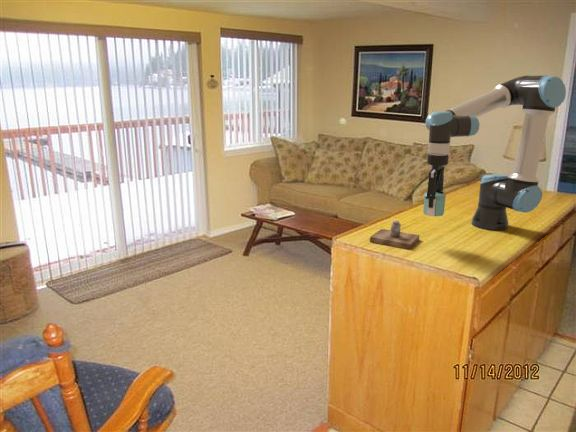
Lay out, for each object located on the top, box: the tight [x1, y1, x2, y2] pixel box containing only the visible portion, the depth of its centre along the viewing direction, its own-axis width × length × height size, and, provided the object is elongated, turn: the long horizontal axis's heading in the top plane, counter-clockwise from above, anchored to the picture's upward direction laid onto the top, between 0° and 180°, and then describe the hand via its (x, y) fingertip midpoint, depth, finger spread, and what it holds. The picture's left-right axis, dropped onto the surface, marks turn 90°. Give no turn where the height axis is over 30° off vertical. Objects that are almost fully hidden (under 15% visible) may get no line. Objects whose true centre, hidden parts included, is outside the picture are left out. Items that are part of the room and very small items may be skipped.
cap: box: [422, 192, 447, 217], centre depth 185 cm, size 8×8×8 cm
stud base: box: [369, 220, 420, 250], centre depth 192 cm, size 16×13×8 cm
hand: (433, 212), depth 186 cm, fingers closed on cap, 8 cm apart
